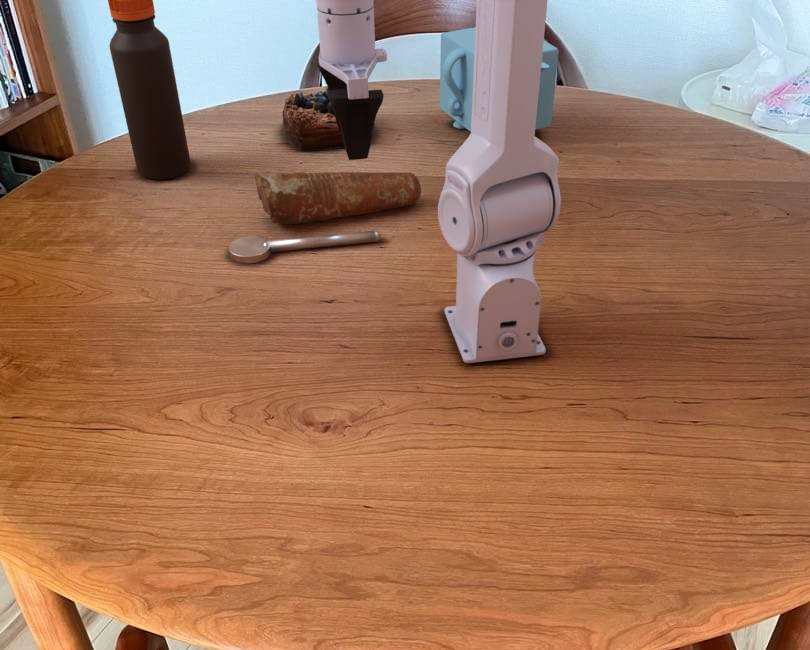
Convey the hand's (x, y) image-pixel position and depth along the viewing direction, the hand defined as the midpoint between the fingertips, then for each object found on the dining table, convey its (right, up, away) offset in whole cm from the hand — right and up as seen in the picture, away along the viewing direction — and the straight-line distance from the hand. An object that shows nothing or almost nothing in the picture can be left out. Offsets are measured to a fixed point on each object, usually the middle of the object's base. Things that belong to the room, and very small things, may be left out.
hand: (352, 144), depth 101 cm
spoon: (-6, -11, +1) cm, 13 cm away
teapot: (+19, +10, +21) cm, 31 cm away
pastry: (-5, +11, +23) cm, 26 cm away
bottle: (-25, +3, +16) cm, 30 cm away
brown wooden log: (-2, -5, +7) cm, 9 cm away
